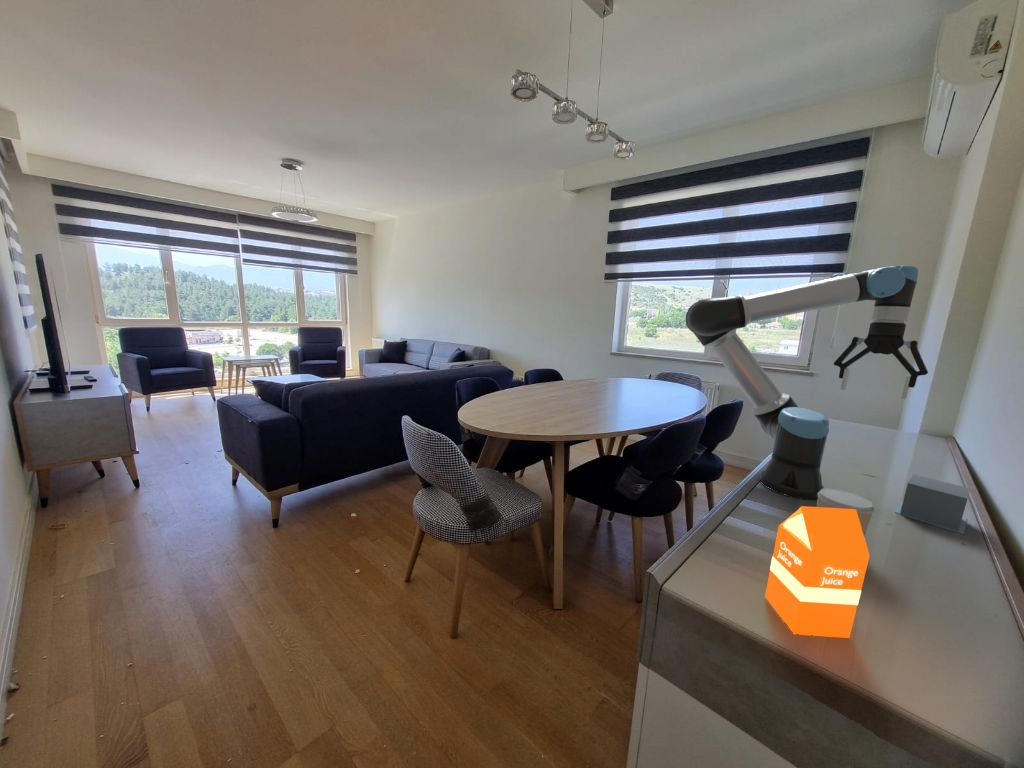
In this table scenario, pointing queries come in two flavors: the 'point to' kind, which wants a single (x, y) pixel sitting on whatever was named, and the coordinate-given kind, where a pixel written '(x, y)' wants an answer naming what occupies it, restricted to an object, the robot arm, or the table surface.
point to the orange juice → (818, 571)
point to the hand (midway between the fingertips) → (871, 393)
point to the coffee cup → (847, 504)
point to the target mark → (961, 528)
